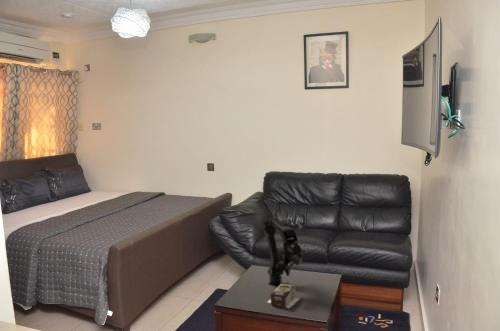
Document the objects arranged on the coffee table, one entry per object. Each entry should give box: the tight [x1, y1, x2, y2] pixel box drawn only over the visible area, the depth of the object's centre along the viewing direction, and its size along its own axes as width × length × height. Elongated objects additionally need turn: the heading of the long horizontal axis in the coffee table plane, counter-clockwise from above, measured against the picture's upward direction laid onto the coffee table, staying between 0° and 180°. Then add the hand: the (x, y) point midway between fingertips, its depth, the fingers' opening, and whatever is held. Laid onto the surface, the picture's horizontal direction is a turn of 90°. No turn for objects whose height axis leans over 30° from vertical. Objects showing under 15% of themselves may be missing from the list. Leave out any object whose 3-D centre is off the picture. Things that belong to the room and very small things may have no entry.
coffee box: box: [270, 283, 297, 308], centre depth 222 cm, size 9×6×16 cm
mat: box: [266, 296, 300, 309], centre depth 223 cm, size 14×14×1 cm
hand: (287, 275), depth 231 cm, fingers closed
